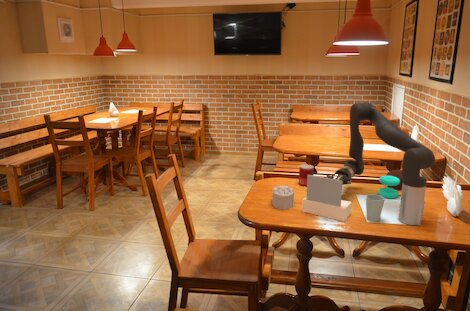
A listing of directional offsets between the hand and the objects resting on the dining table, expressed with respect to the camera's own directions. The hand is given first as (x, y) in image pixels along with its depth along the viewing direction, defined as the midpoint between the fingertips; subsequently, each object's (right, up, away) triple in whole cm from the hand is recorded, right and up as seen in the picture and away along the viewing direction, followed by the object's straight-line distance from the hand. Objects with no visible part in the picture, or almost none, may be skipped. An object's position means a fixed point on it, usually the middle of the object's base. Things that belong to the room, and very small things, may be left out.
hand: (332, 183), depth 174 cm
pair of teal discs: (+35, -8, +21) cm, 41 cm away
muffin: (+44, -5, +33) cm, 55 cm away
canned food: (-6, -3, +37) cm, 38 cm away
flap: (-6, -8, -8) cm, 13 cm away
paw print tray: (-22, -11, +8) cm, 26 cm away
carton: (-3, -13, -2) cm, 14 cm away
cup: (+16, -15, -8) cm, 24 cm away
